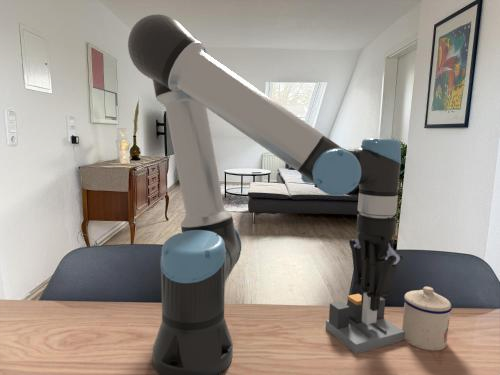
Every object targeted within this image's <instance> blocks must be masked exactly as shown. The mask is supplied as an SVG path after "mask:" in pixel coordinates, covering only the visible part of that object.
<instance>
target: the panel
mask: <svg viewBox="0 0 500 375" xmlns="http://www.w3.org/2000/svg"><path fill="white" fill-rule="evenodd" d="M385 306H386V299H385V298H384V297H383V296H382V297H380V305H379V310H377V319H376V322H375V323H371V324H368V325H366V324H365V323H363V322H362V323H358V324H356V323H355V322H353V321H352V320H351V319H349V313H350V307H349V306H348V305H347V304H346V303H344V302H343V301H342V300H338V301H334V302H330V303H329V314H328V319H325V329H326V330H327V331H328V332H329V333H330V334H332V335H333V336H334V337H335V338H336V339H337V340H339V341H340V342H341V343H342V344H344V346H346V347H347V348H348V349H349V350H350V351H352V353H354V354H355V355H356V354H360V353H364V352H367V351H372V350H374V349H378V348H382V347H385V346H389V345H393V344H397V343H398V342H399V343H401V342H403V341H405V339H404V336H405V331H403V330H402V328H401V327H398V326H397V325H395V324H394V323H392V322H391V321H389V320H387V319H385V309H386V308H385Z"/></svg>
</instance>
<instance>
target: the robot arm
mask: <svg viewBox="0 0 500 375" xmlns="http://www.w3.org/2000/svg"><path fill="white" fill-rule="evenodd" d="M127 39H128V40H127V41H128V42H127V49H128V54H129V57H130V59H131V63H132V64H133V65H134V67H135V68H136V70H138V72H140V73H141V74H142V75H144V76H146V77H147V78H149V79H151V80H152V83H153V87H154V93H155V94H154V95H155V99H156V101H157V102H158V103H160V104H162V105H163V106H164V107H165V112H166V117H167V123H168V127H169V133H170V134H169V135H170V138H171V143H172V148H173V149H172V150H173V154H174V159H175V165H176V169H177V176H178V180H179V185H180V191H181V192H180V193H181V196H182V202H183V206H184V207H183V208H184V211H185V216H184V218H183V220H182V221H181V222H180V229H181V232H179V233H176V234H173V235H171V236H170V237H169V238H167V239H166V240H165V242H164V243H163V245H162V247H161V256H160V260H159V262H160V263H159V264H160V265H159V266H160V278H161V284H160V285H161V287H160V288H161V323H160V326H159V328H158V332H157V335H156V338H155V341H154V344H153V347H152V364H153V368H154V369H155V370H156V372H157V373H158V374H159V375H220V374H221V373H223V372H224V371H225V370H227V368H228V367H229V366H230V364H231V362H232V359H233V356H234V355H233V354H234V352H233V351H234V345H233V340H232V337H231V333H230V330H229V328H228V325H227V322H226V319H225V289H226V288H225V287H226V282H227V279H228V278H229V276H230V275H231V273H232V271H233V270H234V267H235V265H237V263H238V261H239V259H240V257H241V254H242V253H241V251H242V239H241V236H240V233H239V231H238V230H237V228H236V227H235V224H234V218H233V214H232V212H230V211H228V210H227V209H226V208H225V206H224V201H223V195H222V189H221V183H220V179H219V173H218V167H217V161H216V156H215V150H214V144H213V139H212V132H211V127H210V122H209V117H208V112H207V111H208V110H209V111H211V112H212V113H213V114H215V115H216V116H218V117H219V118H221V119H222V120H223V121H225V122H226V123H228V124H229V125H231V126H232V127H234V128H235V129H236V130H238V131H239V132H240V133H242V134H244V135H245V136H246V137H248V138H249V139H250V140H252V141H253V142H255V143H256V144H258V145H260V147H262V148H264V149H265V150H267V151H268V152H270V153H271V154H273V156H275V157H277V158H278V159H279V160H281V161H283V162H284V163H285V164H287V165H288V166H289V167H291V168H292V169H294V170H296V171H297V172H298V173H300V174H301V180H302V182H304V183H306V184H313V185H315V186H316V187H317V188H318V189H319V190H320V191H322V192H323V193H325V194H327V195H330V196H334V197H335V196H337V197H339V196H345V195H347V194H349V193H350V192H353V190H355V188H357V187H358V188H359V189H358V200H357V201H358V202H357V211H358V212H359V213H358V214H356V215H357V218H356V231H357V232H358V234H357V238H355V239H350V240H349V246H350V249H351V255H352V265H353V275H354V283H355V285H356V286H359V287H360V290H361V295H362V299H361V302H362V305H363V309H362V322H363V323H365V324H366V325H368V324H371V323H375V322H376V319H377V310H379V305H380V297H382V298H383V297H386V296H389V294H390V292H391V288H392V286H393V282H394V279H395V276H396V273H397V270H398V266H399V265H400V263H401V262H402V261H403V259H404V258H403V255H402V254H398V253H397V252H396V251H395V250H394V242H393V236H394V235H395V234H396V226H397V218H396V217H395V215H396V214H397V208H398V197H399V182H400V174H401V164H402V144H401V141H399V140H398V139H396V138H364V139H363V140H362V142H361V145H360V147H354V148H352V147H350V148H349V147H341V146H340V145H339V144H337V143H336V142H334V141H332V140H331V139H330V138H328V137H326V136H325V135H324V134H323V133H322V132H320V131H319V130H317V129H315V128H314V127H312V126H311V125H310V124H308V123H307V122H305V121H304V120H302V119H301V118H299V117H298V116H297V115H296V114H294V113H292V112H291V111H289V110H288V109H287V108H286V107H283V105H281V104H279V103H278V102H276V101H275V100H273V99H272V98H271V97H270V96H268V95H266V94H265V93H264V92H262V91H260V90H259V89H258V88H257V87H255V86H254V85H252V84H250V83H249V82H248V81H246V80H245V79H243V78H242V77H241V76H240V75H237V73H235V72H233V71H232V70H230V69H229V68H228V67H226V66H225V65H223V64H221V63H220V62H219V61H217V60H216V59H214V58H213V57H211V56H210V55H209V54H208V52H207V51H206V48H205V47H204V45H203V43H202V42H200V41H199V39H197V38H196V37H195V36H194V35H192V34H191V33H190V32H189V31H188V30H187V29H186V28H185V27H184V26H183V25H182V24H181V23H179V22H178V20H176V19H174V18H172V17H170V16H168V15H164V14H159V13H158V14H151V15H146V16H144V17H142V18H140V19H139V20H138V21H137V22H135V24H134V25H133V27H132V28H131V30H130V33H129V36H128V38H127ZM207 109H208V110H207Z"/></svg>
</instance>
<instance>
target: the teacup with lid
mask: <svg viewBox="0 0 500 375" xmlns="http://www.w3.org/2000/svg"><path fill="white" fill-rule="evenodd" d="M403 301H404V303H403V304H404V306H403V314H402V315H403V316H402V326H401V327H402V328H401V329H402V330H403V331H405V336H404V341H406V342H407V343H408V344H410V345H412V346H414V347H416V348H418V349H422V350H424V351H425V350H426V351H432V352H434V351H441V350H444V349H445V348H446V347H447V342H448V335H449V334H448V333H449V324H450V315H451V311H452V310H453V307H452V304H451V302H450V301H449V299H447V298H446V297H445V296H442V295H440V294H438V293H436V292H435V290H434V288H433V287H431V286H424V287H423V288H422V289H419V290H418V289H417V290H410V291H407V292H406V293H405V294H404V296H403Z"/></svg>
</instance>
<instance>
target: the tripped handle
mask: <svg viewBox="0 0 500 375" xmlns="http://www.w3.org/2000/svg"><path fill="white" fill-rule="evenodd" d="M361 299H362V294H360V293H356V294H350V295H349V294H348V295H347V304H346V305H348V306H349V307H350V313H349V319H351V320H352V321H353V322H355V323H356V324H358V323H362V309H363V305H362V302H361Z"/></svg>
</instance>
